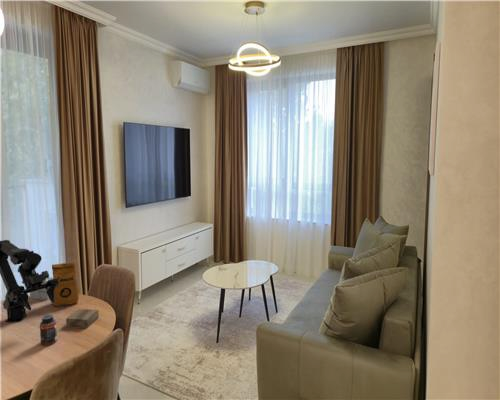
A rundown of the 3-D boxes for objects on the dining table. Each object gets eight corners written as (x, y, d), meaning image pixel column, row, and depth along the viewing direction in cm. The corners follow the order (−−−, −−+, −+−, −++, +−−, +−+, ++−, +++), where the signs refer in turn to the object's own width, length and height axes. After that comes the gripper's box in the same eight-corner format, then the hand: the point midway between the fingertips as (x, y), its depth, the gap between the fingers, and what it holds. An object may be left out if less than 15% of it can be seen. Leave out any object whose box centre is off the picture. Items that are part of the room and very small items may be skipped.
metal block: (66, 326, 158) (66, 318, 157) (78, 316, 168) (78, 309, 167) (87, 328, 157) (87, 319, 157) (98, 317, 167) (98, 310, 167)
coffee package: (79, 305, 181) (77, 264, 178) (51, 308, 176) (49, 267, 173) (80, 297, 190) (78, 259, 187) (54, 301, 185) (52, 261, 182)
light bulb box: (56, 295, 193) (55, 276, 192) (47, 300, 186) (46, 280, 185) (38, 294, 194) (37, 275, 193) (29, 298, 187) (28, 279, 186)
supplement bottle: (60, 340, 146) (59, 315, 145) (48, 347, 141) (46, 321, 139) (49, 337, 148) (48, 312, 147) (37, 344, 143) (35, 318, 141)
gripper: (10, 272, 141) (24, 305, 137) (56, 261, 157) (70, 291, 153) (3, 284, 147) (15, 317, 143) (48, 273, 162) (61, 302, 158)
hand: (42, 306), depth 149 cm, fingers open, 9 cm apart
